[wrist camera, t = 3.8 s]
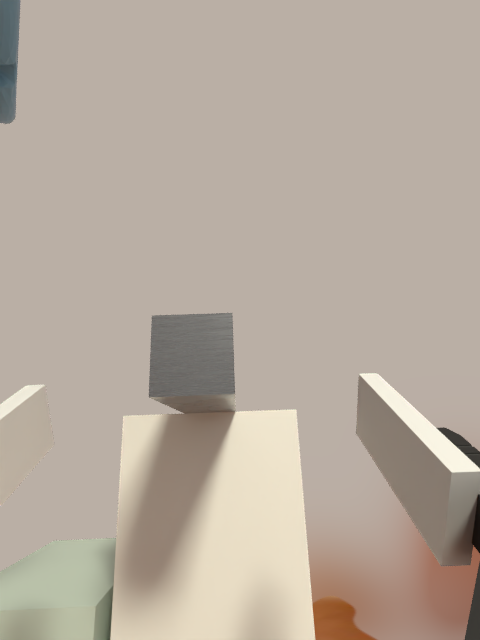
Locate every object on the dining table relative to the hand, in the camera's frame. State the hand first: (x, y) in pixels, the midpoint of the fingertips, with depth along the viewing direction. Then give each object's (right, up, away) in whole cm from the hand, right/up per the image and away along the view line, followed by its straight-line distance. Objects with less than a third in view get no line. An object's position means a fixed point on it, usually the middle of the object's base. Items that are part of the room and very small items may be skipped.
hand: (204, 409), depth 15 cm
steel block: (-1, -4, +14) cm, 14 cm away
